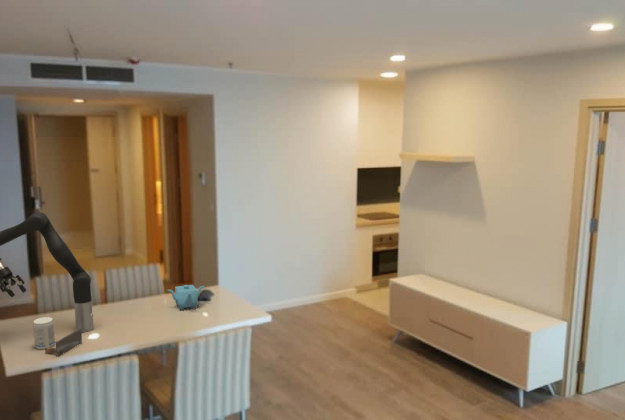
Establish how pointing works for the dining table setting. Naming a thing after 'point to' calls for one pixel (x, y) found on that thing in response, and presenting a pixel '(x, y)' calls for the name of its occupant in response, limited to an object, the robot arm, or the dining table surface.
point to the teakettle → (186, 296)
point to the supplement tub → (44, 332)
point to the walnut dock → (66, 343)
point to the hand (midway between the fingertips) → (19, 293)
